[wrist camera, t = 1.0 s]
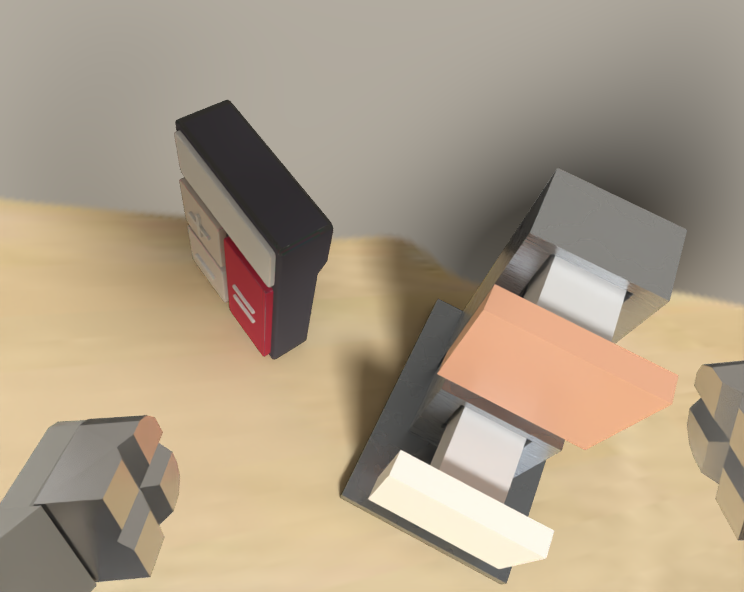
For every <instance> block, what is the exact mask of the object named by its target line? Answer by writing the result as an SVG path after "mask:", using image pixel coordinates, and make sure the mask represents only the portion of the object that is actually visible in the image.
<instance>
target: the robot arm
mask: <svg viewBox="0 0 744 592" xmlns="http://www.w3.org/2000/svg"><path fill="white" fill-rule="evenodd" d="M694 386H695V388H696V390H697V391H698V393H699V395H700V396H701V398H700V399H699V400H698V401H697V402H696V403H695V404H694V405H693V406H692V407H691V408H690V409H689V415H688V422H687V430H688V438H689V445H690V448H691V451H692V454H693V456H694V459H695V461H696V463H697V465H698V467H699V469H700V471H701V473H703V474H704V475H706V476H707V477H709V478H710V479H712V480H713V481H715V482H717V483H718V484H719V486H718V490H717V494H716V498H715V499H716V501H717V503H718V505H719V506H720V508H721V510H722V512H723V514H724V516H725V518H726V519H727V521H728V523H729V525H730V527H731V529H732V530H733V532H734V534H735V536H736V538H737V540H744V361H734V362H724V363H714V364H704V365H702V366H701V367H700V369H699V370H698V372H697V374H696V379H695V384H694ZM162 433H163V432H162V430H161V428H160V426H159V424H158V422H157V420H156V419H155V417H151V416H147V415H144V416H129V417H114V418H98V419H88V420H80V421H62V422H57V423H55V424H54V425H52V426H51V427H49V428H48V429H47V431H46V432H45V434H44V436H43V437H42V439H41V440H40V442H39V443H38V445H37V447H36V448H35V450H34V451H33V453H32V454H31V456H30V458H29V459H28V461H27V462H26V464H25V465H24V467H23V469H22V470H21V472H20V473H19V475H18V476H17V478H16V480H15V481H14V483H13V484H12V486H11V487H10V489H9V490H8V492H7V494H6V495H5V497H4V498H3V500H2V501H1V503H0V592H91V591H92V590H93V589H94V588H95V587H96V583H95V582H103V581H113V580H124V579H135V578H146V577H151V574H152V571H153V568H154V566H155V563H156V560H157V557H158V554H159V551H160V549H161V546H162V543H163V540H164V534H163V532H162V530H161V527H160V524H161V523H162V522H163V521H164V520H165V519H166V518H167V517H168V516H169V515H170V514H171V513H172V512H173V511H174V508H175V505H176V502H177V499H178V496H179V483H180V474H179V469H178V464H177V461H176V459H175V457H174V455H173V452H172V451H170V450H169V449H167V448H166V447H164V446H162V445H161V444H159V440H160V438H161V435H162Z"/></svg>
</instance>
